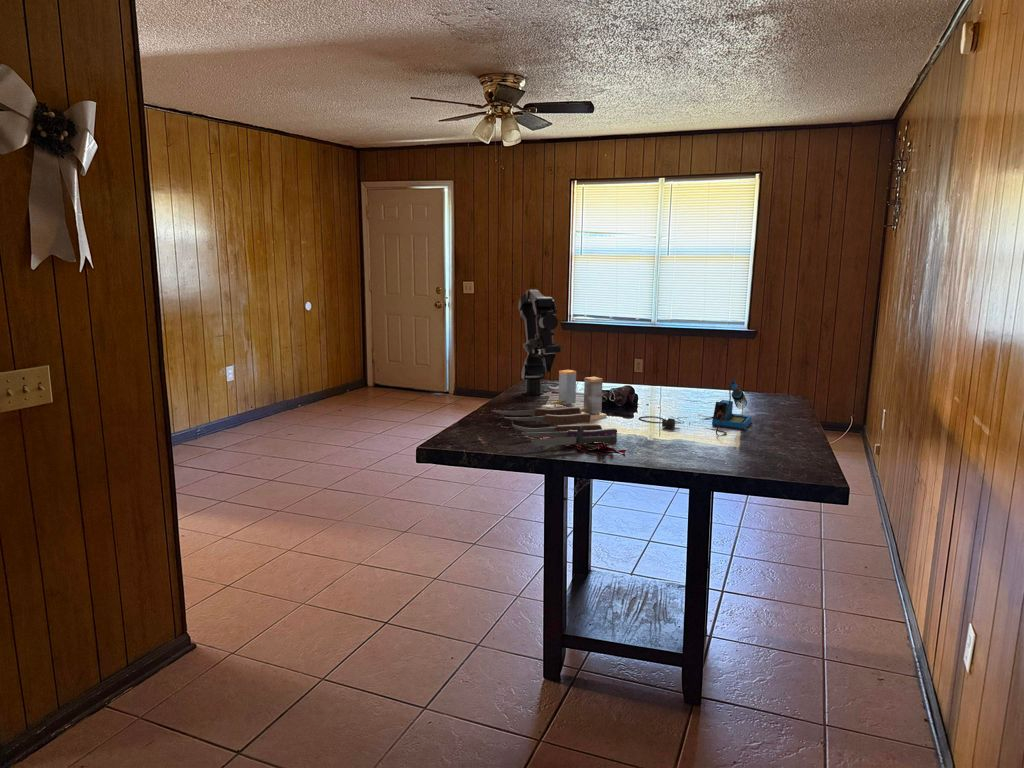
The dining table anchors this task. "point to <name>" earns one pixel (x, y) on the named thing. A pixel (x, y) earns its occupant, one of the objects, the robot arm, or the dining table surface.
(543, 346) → the robot arm
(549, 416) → the knife set
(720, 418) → the soldering iron
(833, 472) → the dining table surface
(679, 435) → the dining table surface
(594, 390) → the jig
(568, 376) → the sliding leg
